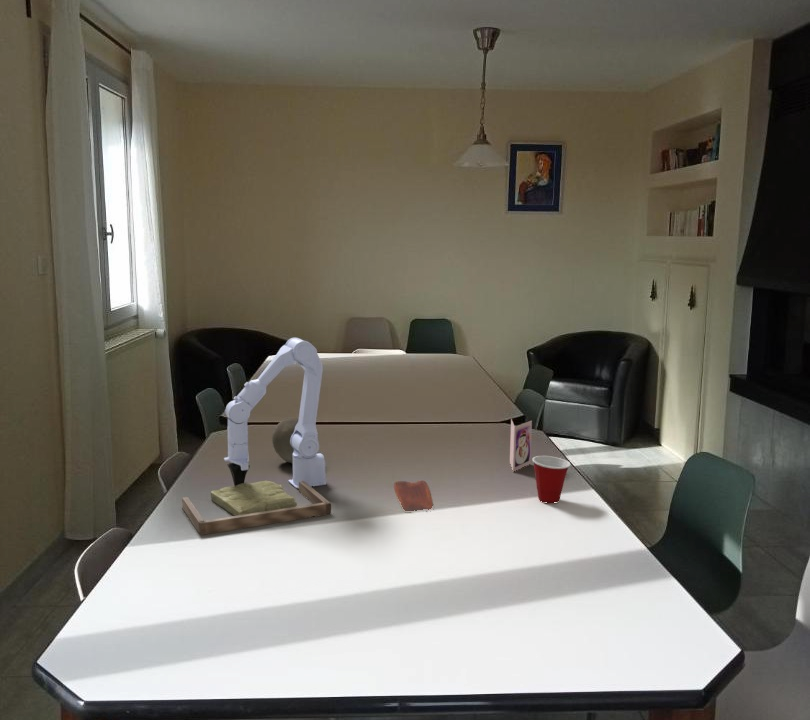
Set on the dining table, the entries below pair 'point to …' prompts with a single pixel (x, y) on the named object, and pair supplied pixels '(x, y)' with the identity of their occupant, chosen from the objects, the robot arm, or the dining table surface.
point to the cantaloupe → (284, 439)
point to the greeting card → (520, 445)
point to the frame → (259, 514)
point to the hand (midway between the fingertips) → (238, 487)
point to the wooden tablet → (413, 495)
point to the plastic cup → (550, 477)
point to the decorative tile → (253, 498)
